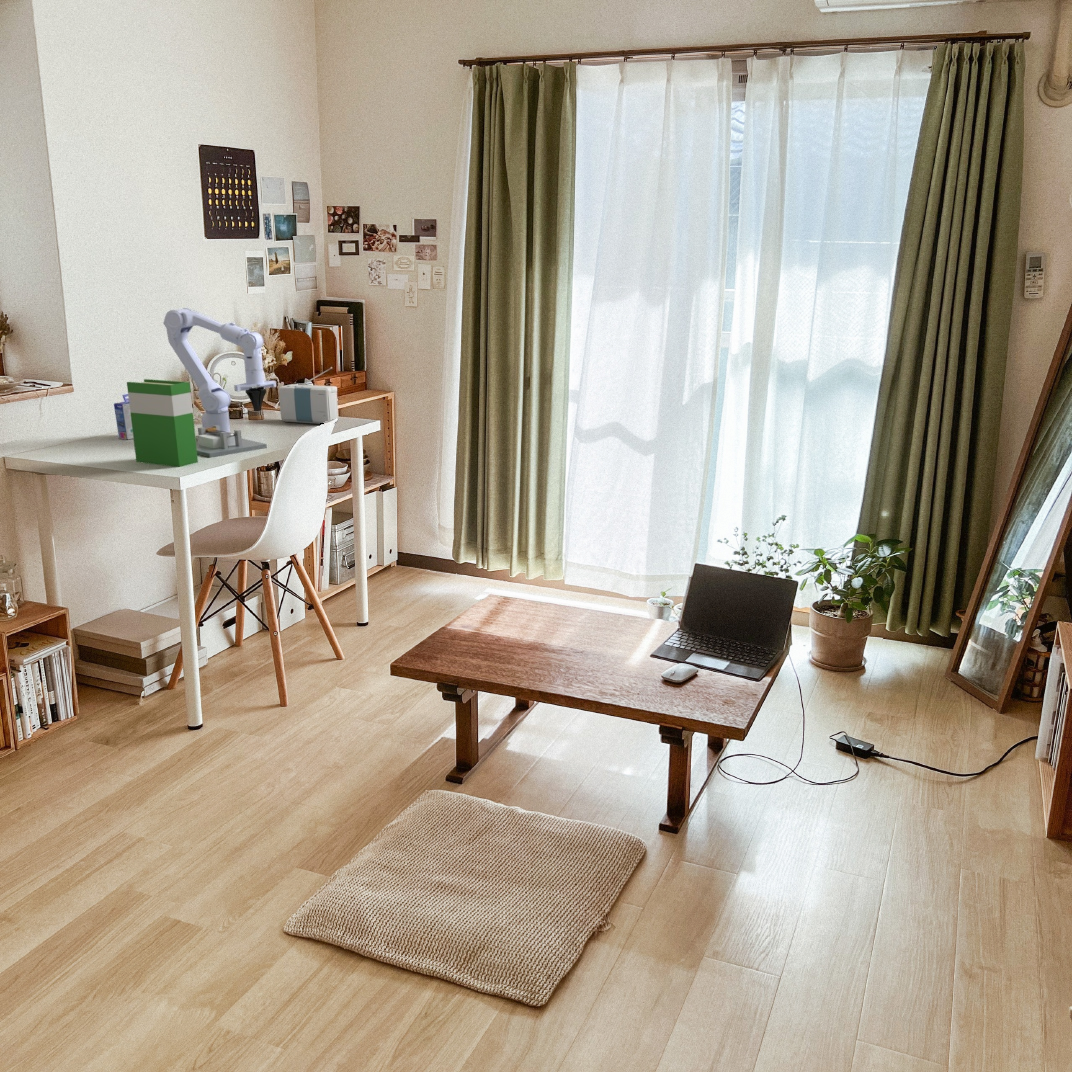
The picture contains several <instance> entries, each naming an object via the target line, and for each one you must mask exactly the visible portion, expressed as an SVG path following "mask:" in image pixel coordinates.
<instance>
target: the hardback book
mask: <svg viewBox="0 0 1072 1072" xmlns="http://www.w3.org/2000/svg"><path fill="white" fill-rule="evenodd" d="M126 386H127V394H128V396H127V397H128V398H129V405H130V413H131V422H132V430H133V446H134V452H135V454H134V455H135V461H136V463H141V462H143V463H142V464H150V465H151V464H152V465H160V466H168V467H174V468H175V467H177V468H181V467H185V466H190V465H193V464H196V463H198V462H199V460H198V459H199V457H198V454H197V448H196V441H197V440H196V439H197V438H196V431H195V421H194V420H195V419H194V412H193V411H194V409H193V401H192V392H191V390H192V389H191V383H190V381H175V380H166V379H165V380H162V379H161V380H160V379H149V378H146V379H145V378H144V379H143V382H136V381H127V382H126Z"/></svg>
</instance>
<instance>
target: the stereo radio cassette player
mask: <svg viewBox="0 0 1072 1072" xmlns="http://www.w3.org/2000/svg"><path fill="white" fill-rule="evenodd" d="M332 369H333V367H332V366H331V367H330V368H329V369H326V370H325V371H323V372H321V373H320V374H317V375H315V376H314V377H312V378H311V379H309V380H307V381H305V382H304V383H301V384H297V383H296V384H295V383H294V384H287V385H283V386H279V387H278V396H279V397H278V399H279V400H278V401H279V411H280V418H281V420H282V421H284V422H286V423H288V422H289V423H301V424H302V423H303V424H317V425H321V424H320V423H323V422H325V421H329V420H332V419H335V418H337V419H338V420H339V406H338V405H339V404H338V387H337V386H336V385H335V386H333V385H315V384H314V385H312V384H307V383H310V382H311V381H313V380H314V379H316V378H318V377H320V376H321V375H323V374H324V373H326V372H328V371H329V370H332Z"/></svg>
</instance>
